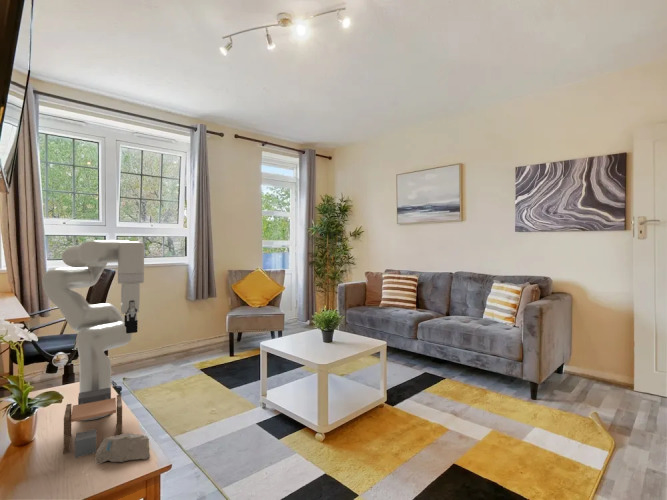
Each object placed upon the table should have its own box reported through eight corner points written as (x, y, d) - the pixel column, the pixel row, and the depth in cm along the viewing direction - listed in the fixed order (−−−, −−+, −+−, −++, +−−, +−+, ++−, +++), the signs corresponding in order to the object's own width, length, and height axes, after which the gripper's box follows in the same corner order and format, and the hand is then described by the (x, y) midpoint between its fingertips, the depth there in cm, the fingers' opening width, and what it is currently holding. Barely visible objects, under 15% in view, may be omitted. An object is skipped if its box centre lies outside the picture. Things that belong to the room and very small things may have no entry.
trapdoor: (74, 402, 119) (74, 393, 118) (114, 394, 125) (115, 386, 125) (70, 425, 107) (70, 415, 107) (116, 415, 113) (116, 406, 113)
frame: (65, 437, 113) (65, 404, 113) (121, 424, 122) (121, 394, 121) (62, 453, 105) (62, 418, 104) (122, 438, 113) (122, 406, 113)
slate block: (76, 433, 107) (75, 441, 103) (96, 428, 110) (95, 436, 106) (76, 449, 107) (75, 458, 103) (96, 444, 110) (95, 452, 106)
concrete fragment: (145, 463, 102) (145, 442, 101) (92, 466, 100) (92, 445, 99) (154, 448, 108) (154, 429, 108) (105, 451, 107) (105, 431, 106)
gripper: (117, 276, 124) (116, 325, 124) (118, 281, 109) (118, 337, 110) (141, 275, 128) (141, 322, 128) (146, 280, 113) (146, 334, 114)
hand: (130, 329), depth 119 cm, fingers open, 9 cm apart
